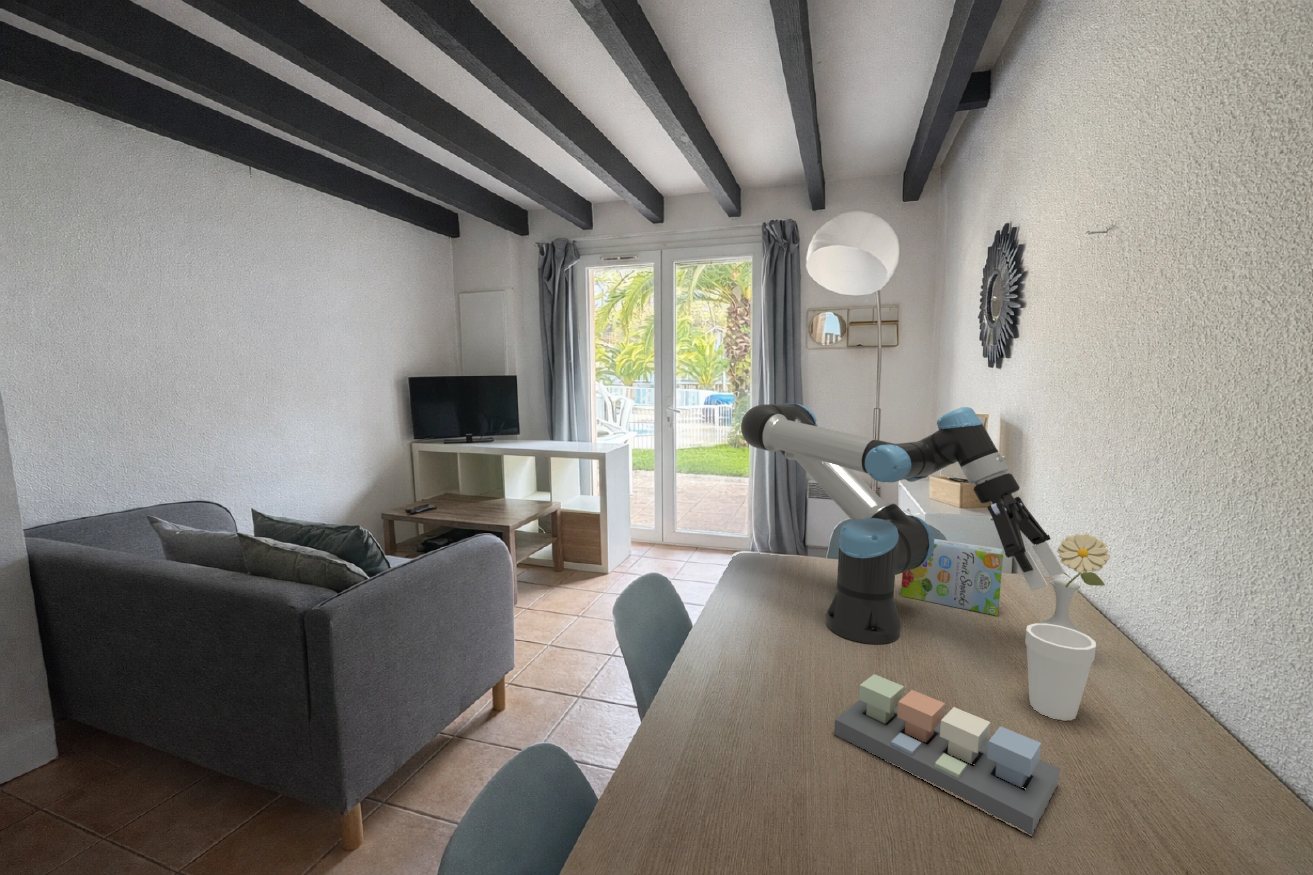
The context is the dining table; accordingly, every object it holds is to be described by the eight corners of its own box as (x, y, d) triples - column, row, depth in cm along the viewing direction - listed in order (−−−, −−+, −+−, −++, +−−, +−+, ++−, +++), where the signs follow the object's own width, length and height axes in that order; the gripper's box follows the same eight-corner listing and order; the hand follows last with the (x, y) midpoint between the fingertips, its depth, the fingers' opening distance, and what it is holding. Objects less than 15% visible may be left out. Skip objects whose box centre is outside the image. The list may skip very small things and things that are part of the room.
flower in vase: (1012, 640, 119) (1023, 525, 117) (1047, 631, 124) (1058, 520, 121) (1079, 670, 107) (1093, 542, 105) (1115, 659, 112) (1129, 536, 109)
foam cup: (1067, 733, 88) (1075, 654, 87) (1007, 702, 96) (1014, 629, 95) (1099, 717, 92) (1108, 642, 91) (1039, 689, 101) (1046, 619, 99)
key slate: (985, 775, 75) (988, 740, 75) (997, 759, 78) (1000, 726, 78) (1027, 795, 72) (1031, 759, 71) (1037, 777, 75) (1041, 742, 74)
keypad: (834, 734, 87) (835, 715, 86) (873, 702, 96) (874, 684, 95) (1031, 837, 68) (1033, 813, 68) (1058, 785, 77) (1060, 763, 76)
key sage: (857, 714, 88) (859, 684, 88) (872, 702, 91) (874, 674, 91) (888, 728, 85) (890, 698, 84) (902, 716, 88) (904, 686, 87)
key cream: (938, 752, 79) (940, 720, 79) (951, 738, 83) (953, 706, 82) (975, 770, 76) (978, 736, 75) (987, 754, 79) (990, 722, 79)
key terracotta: (896, 732, 84) (898, 701, 83) (909, 719, 87) (912, 689, 86) (929, 748, 80) (932, 716, 80) (942, 734, 84) (945, 703, 83)
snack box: (998, 609, 136) (1004, 548, 134) (997, 617, 131) (1003, 554, 130) (903, 589, 147) (907, 533, 146) (899, 596, 142) (903, 538, 141)
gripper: (989, 474, 103) (1054, 588, 96) (1026, 468, 120) (1083, 564, 113) (950, 491, 108) (1009, 600, 101) (991, 483, 125) (1044, 575, 118)
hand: (1049, 581), depth 107 cm, fingers open, 13 cm apart
